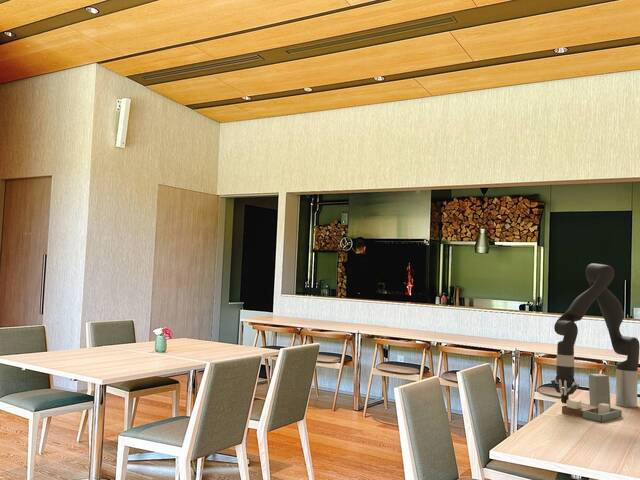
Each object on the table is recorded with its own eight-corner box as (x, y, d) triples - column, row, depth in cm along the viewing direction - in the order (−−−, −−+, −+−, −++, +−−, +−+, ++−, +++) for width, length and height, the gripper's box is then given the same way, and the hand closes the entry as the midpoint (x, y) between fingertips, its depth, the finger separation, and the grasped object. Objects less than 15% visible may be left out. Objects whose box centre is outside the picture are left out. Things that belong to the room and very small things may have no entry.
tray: (603, 413, 270) (603, 406, 270) (621, 417, 263) (621, 410, 264) (582, 418, 259) (583, 410, 259) (601, 422, 252) (601, 414, 252)
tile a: (603, 403, 268) (609, 404, 266) (602, 413, 268) (609, 414, 266) (598, 404, 265) (605, 405, 263) (598, 414, 265) (604, 415, 263)
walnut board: (580, 409, 277) (580, 402, 277) (601, 413, 270) (601, 406, 270) (561, 413, 267) (561, 406, 268) (583, 417, 260) (583, 410, 260)
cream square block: (571, 405, 269) (571, 399, 270) (581, 407, 266) (581, 401, 266) (566, 406, 267) (566, 400, 267) (576, 409, 263) (576, 402, 263)
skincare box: (610, 410, 276) (611, 376, 277) (595, 410, 276) (595, 375, 277) (602, 406, 285) (603, 373, 285) (587, 406, 285) (588, 372, 286)
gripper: (583, 366, 268) (583, 405, 267) (556, 362, 278) (555, 399, 277) (574, 367, 263) (574, 407, 262) (547, 363, 274) (546, 401, 273)
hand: (564, 403), depth 270 cm, fingers closed
